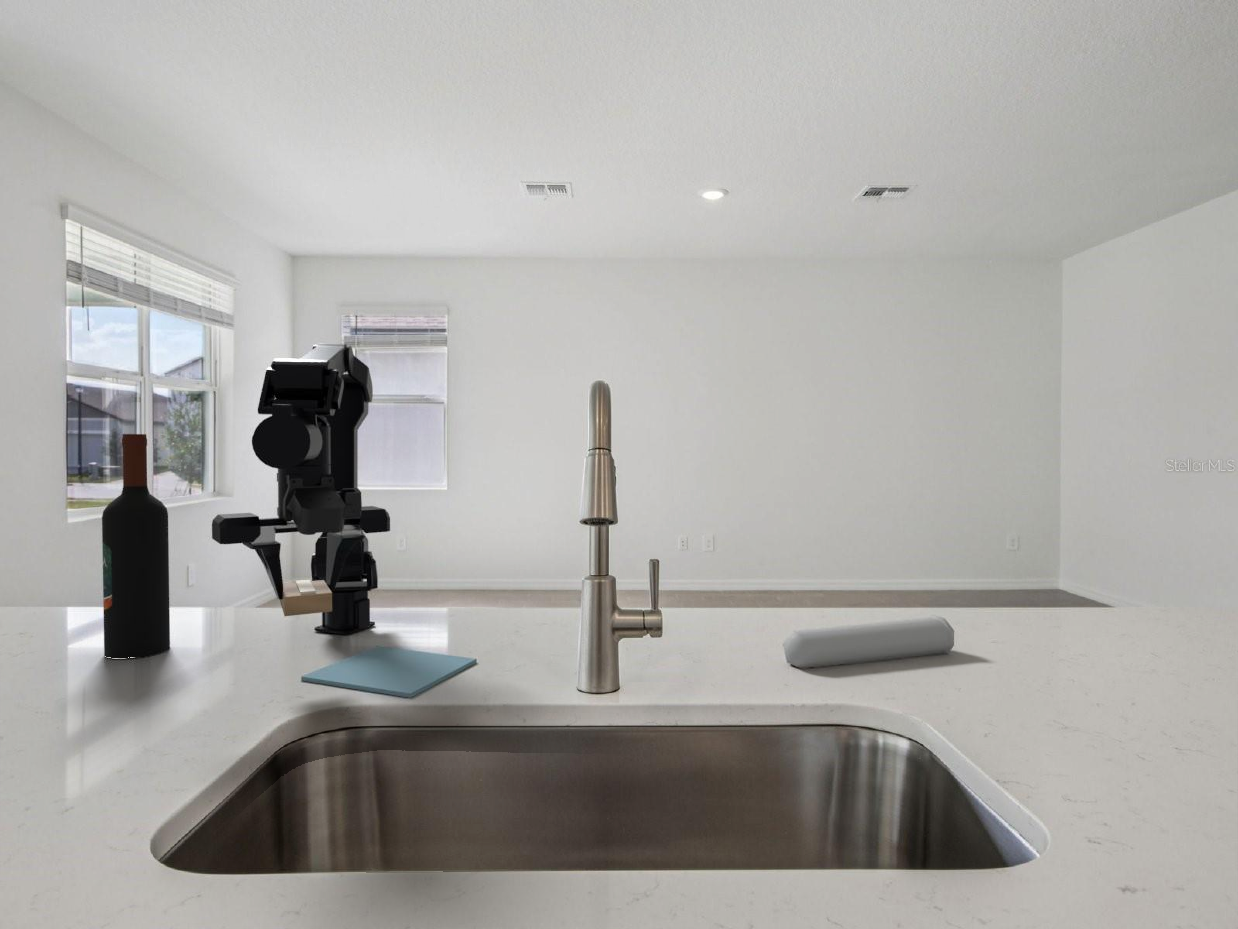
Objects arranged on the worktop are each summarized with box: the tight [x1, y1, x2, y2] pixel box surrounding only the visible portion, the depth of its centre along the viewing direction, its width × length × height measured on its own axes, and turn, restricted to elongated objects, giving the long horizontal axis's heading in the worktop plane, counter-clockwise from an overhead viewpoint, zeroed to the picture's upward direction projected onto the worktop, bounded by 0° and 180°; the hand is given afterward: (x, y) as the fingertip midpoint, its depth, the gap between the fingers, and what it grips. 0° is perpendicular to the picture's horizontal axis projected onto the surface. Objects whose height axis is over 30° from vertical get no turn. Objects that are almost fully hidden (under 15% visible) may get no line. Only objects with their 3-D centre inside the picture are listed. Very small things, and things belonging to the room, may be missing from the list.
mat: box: [300, 645, 477, 699], centre depth 90 cm, size 16×14×1 cm
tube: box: [782, 614, 955, 669], centre depth 97 cm, size 5×5×25 cm
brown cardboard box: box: [279, 579, 332, 617], centre depth 85 cm, size 8×5×2 cm, turn 29°
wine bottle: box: [101, 433, 171, 658], centre depth 98 cm, size 8×8×30 cm
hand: (305, 595), depth 85 cm, fingers closed on brown cardboard box, 5 cm apart
